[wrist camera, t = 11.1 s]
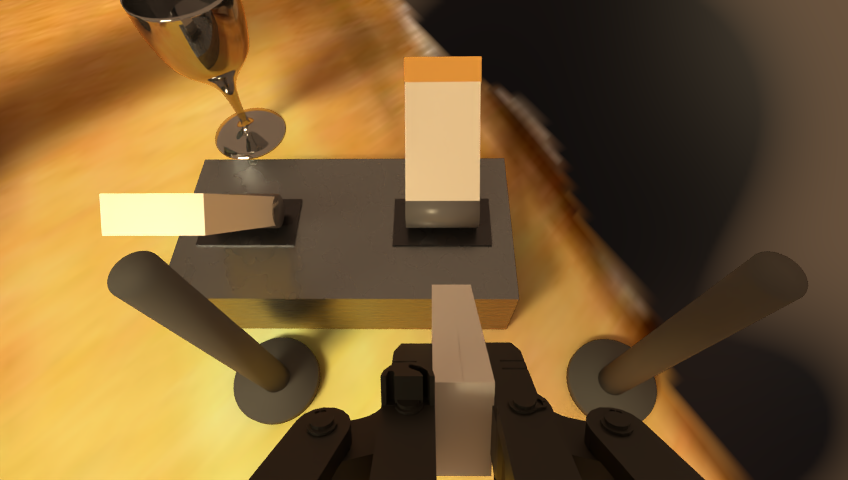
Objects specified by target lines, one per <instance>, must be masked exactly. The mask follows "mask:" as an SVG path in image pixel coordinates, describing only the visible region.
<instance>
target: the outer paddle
mask: <svg viewBox="0 0 848 480" xmlns="http://www.w3.org/2000/svg"><path fill="white" fill-rule="evenodd" d="M481 58H482V57H481V56H475V57H473V56H471V57H404V84H405V220H406V228H478V227H479V221H480V84H481V60H482V59H481Z"/></svg>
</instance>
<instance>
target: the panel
mask: <svg viewBox="0 0 848 480" xmlns="http://www.w3.org/2000/svg"><path fill="white" fill-rule="evenodd" d="M194 193H207V194H280V195H281V197H282V199H283V203H284V221H283V224H282V226H281V227H280V228H256V229H248V230H241V231H234V232H227V233H220V234H212V235H205V236H179V238H178V241H177V244H176V247H175V250H174V253H173V256H172V259H171V262H170V264H169V266H170V267H171V268H172V269H174V270H175V271H176V272H177V273H178V274H179V275H180V276H182V277H183V278H184V279H185V280H186V281H187V282H189V283H190V284H191V285H192V286H193V287H194V288H195V289H197V290H198V291H199V292H200V293H201V294H202V295H204V296H205V297H206V298H207V299H208V300H209V301H210V302H212V303H213V304H214V305H215V306H216V307H217V308H219V309H220V310H221V311H222V312H223V313H224V314H225V315H227V316H228V317H229V318H230V319H231V320H232V321H234V322H235V323H236V324H237V325H238V326H239V327H241V328H308V329H432V285H471V288H472V292H473V296H474V300H475V304H476V308H477V312H478V316H479V320H480V324H481V328H482V329H506V328H507V326H508V324H509V321H510V319H511V317H512V314H513V312H514V310H515V308H516V305H517V303H518V301H519V294H518V284H517V275H516V265H515V256H514V247H513V237H512V228H511V218H510V209H509V199H508V190H507V181H506V171H505V162H504V158H496V159H480V221H479V227H478V228H406V220H405V159H266V160H205V162H204V165H203V168H202V171H201V174H200V177H199V179H198V182H197V185H196V188H195V191H194Z"/></svg>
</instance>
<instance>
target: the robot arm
mask: <svg viewBox="0 0 848 480" xmlns="http://www.w3.org/2000/svg"><path fill="white" fill-rule="evenodd" d="M381 403H382V406H381V409H380V410H378V411H377V412H376V413H374V414H372V415H370V416H367V417H364V418H360V419H356V420H351V421H350V418H349V415H348V414H346V413H345V412H344V411H343V410H340V409H337V408H319V409H315V410H312V411H310V412H308V413H306V414H304V415H303V416H301V417H300V418H299V419H298V420H297V421H296V422H295V423H294V424H293V426H292V427H291V428H290V429H289V431H288V432H287V433H286V434H285V436H284V437H283V438H282V439H281V440H280V442H279V443H278V444H277V445H276V447H275V448H274V449H273V450H272V451H271V453H270V454H269V455H268V456H267V458H266V459H265V460H264V461H263V463H262V464H261V465H260V466H259V467H258V469H257V470H256V471H255V472H254V474H253V475H252V476H251V477H250V479H249V480H437V478H436V476H491V466H493V472H494V480H705V479H704V478H703V477H701V476H700V475H699V474H698V473H697V472H696V471H695V470H694V469H693V468H692V467H691V466H690V465H689V464H687V463H686V462H685V461H684V460H683V459H682V458H681V457H680V456H679V455H678V454H677V453H676V452H675V451H674V450H672V449H671V448H670V447H669V446H668V445H667V444H666V443H665V442H664V441H663V440H662V439H661V438H660V437H658V436H657V435H656V434H655V433H654V432H653V431H652V430H651V429H650V428H649V427H648V426H647V425H646V424H645V423H643V422H642V421H641V420H640V419H638V418H637V417H636V416H634V415H633V414H631V413H628V412H626V411H624V410H621V409H617V408H611V407H599V408H596V409H593V410H591V411H590V412H589V413H588V414H587V417H586V421H582V420H577V419H573V418H568V417H565V416H561V415H559V414H557V413H555V412H553V409H552V407H551V405H550V404H549V403H548V401H547V400H546V399H545V398H543V397H542V396H540V395H539V394H537V392H536V389H535V387H534V384H533V381H532V379H531V376H530V374H529V371H528V370H527V366H526V364H525V362H524V359H523V356H522V354H521V351H520V350H519V349H518V348H517V347H515V346H514V345H513V344H512V343H485V340H484V336H483V332H482V328H481V324H480V320H479V316H478V312H477V308H476V304H475V300H474V296H473V292H472V288H471V285H432V344H401V345H400V346H399V347H398V348H397V349H396V350H395V351H394V354H393V360H392V365H391V366H389V367H388V368H386V369H385V370H384V371H383V373H382V374H381Z"/></svg>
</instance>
